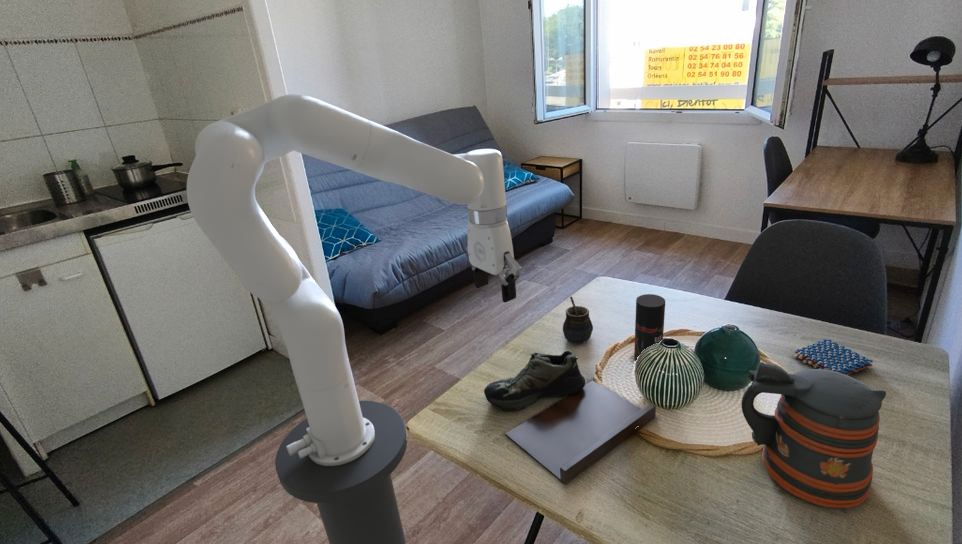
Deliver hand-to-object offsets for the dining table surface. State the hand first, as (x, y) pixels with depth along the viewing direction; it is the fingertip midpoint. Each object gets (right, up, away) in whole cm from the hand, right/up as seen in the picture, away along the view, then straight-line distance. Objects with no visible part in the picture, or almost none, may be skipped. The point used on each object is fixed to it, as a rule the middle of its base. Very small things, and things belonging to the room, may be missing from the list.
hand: (495, 292), depth 105 cm
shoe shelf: (+16, -25, -10) cm, 31 cm away
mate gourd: (+20, -12, +18) cm, 30 cm away
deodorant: (+35, -16, +8) cm, 39 cm away
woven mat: (+72, -15, +2) cm, 73 cm away
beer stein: (+49, -28, -23) cm, 61 cm away
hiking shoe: (+8, -22, 0) cm, 23 cm away
